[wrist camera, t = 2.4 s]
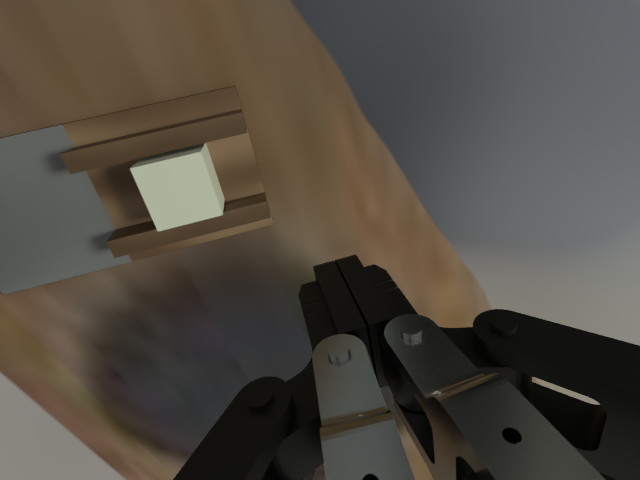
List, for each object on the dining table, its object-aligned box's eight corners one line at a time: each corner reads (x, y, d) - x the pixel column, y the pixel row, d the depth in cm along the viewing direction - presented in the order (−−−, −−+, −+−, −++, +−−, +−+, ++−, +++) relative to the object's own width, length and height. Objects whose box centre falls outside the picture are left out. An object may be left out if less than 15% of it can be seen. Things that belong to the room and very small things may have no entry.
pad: (-90, 158, 26) (-97, 159, 26) (66, 123, 27) (62, 124, 27) (7, 291, 32) (3, 294, 31) (133, 258, 33) (131, 261, 32)
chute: (66, 123, 27) (46, 129, 24) (235, 86, 28) (234, 87, 26) (133, 258, 33) (123, 275, 30) (273, 221, 34) (276, 235, 31)
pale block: (143, 156, 29) (129, 168, 25) (205, 141, 29) (200, 151, 26) (167, 213, 31) (157, 231, 27) (224, 198, 31) (222, 215, 28)
